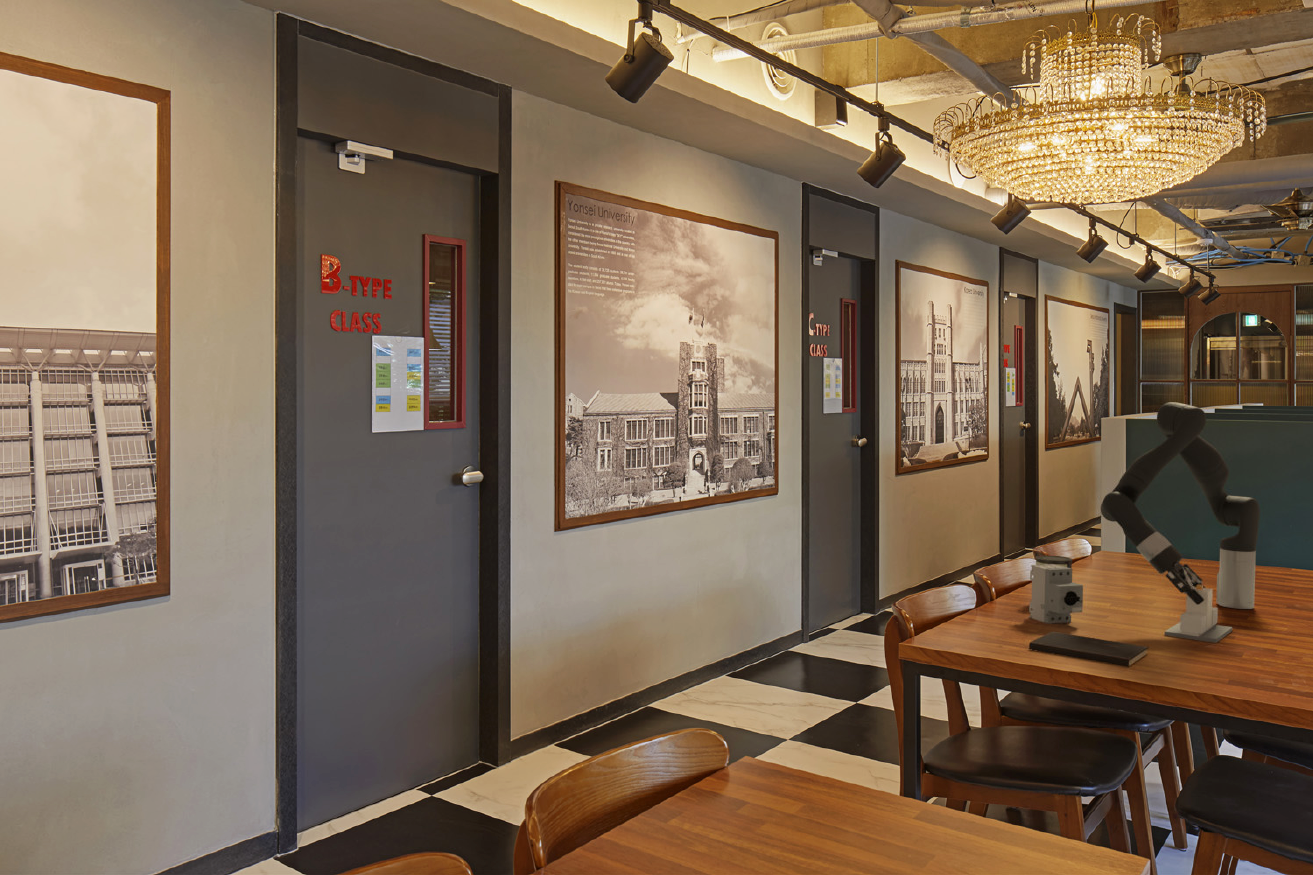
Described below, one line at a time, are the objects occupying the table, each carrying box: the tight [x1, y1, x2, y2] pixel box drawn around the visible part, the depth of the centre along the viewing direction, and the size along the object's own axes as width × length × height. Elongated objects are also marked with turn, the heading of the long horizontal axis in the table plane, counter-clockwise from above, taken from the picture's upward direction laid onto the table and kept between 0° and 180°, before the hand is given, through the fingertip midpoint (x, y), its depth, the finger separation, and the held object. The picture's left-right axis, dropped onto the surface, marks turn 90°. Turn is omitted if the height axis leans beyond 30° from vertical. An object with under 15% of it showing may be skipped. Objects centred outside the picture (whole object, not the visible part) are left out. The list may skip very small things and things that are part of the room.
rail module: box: [1185, 584, 1214, 629], centre depth 256 cm, size 5×5×11 cm
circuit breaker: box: [1028, 564, 1084, 625], centre depth 267 cm, size 8×14×15 cm, turn 15°
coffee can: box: [1035, 555, 1073, 570], centre depth 292 cm, size 10×10×14 cm
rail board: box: [1164, 606, 1233, 644], centre depth 256 cm, size 18×12×6 cm, turn 138°
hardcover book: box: [1028, 631, 1149, 668], centre depth 236 cm, size 16×23×2 cm
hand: (1205, 600), depth 255 cm, fingers open, 8 cm apart
